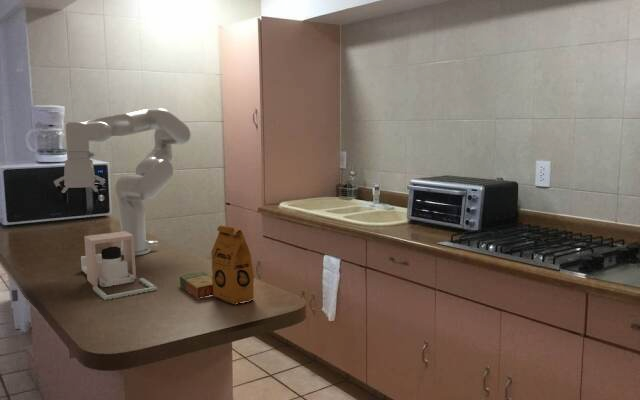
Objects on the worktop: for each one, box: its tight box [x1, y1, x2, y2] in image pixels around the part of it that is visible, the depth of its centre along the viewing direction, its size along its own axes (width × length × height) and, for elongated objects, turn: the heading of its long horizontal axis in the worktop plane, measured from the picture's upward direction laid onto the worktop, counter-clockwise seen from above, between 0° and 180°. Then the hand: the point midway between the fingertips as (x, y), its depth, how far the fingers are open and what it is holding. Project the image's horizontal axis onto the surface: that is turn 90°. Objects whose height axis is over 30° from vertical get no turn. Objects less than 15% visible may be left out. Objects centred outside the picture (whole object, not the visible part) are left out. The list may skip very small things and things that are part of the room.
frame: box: [92, 277, 158, 301], centre depth 179 cm, size 16×13×1 cm
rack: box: [80, 253, 135, 288], centre depth 194 cm, size 10×26×5 cm, turn 36°
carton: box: [179, 271, 213, 298], centre depth 177 cm, size 8×16×4 cm, turn 32°
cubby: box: [83, 231, 137, 287], centre depth 189 cm, size 14×9×15 cm, turn 126°
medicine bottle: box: [96, 246, 128, 281], centre depth 187 cm, size 7×7×12 cm
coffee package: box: [210, 225, 255, 305], centre depth 167 cm, size 10×12×22 cm
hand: (81, 202), depth 207 cm, fingers open, 9 cm apart
